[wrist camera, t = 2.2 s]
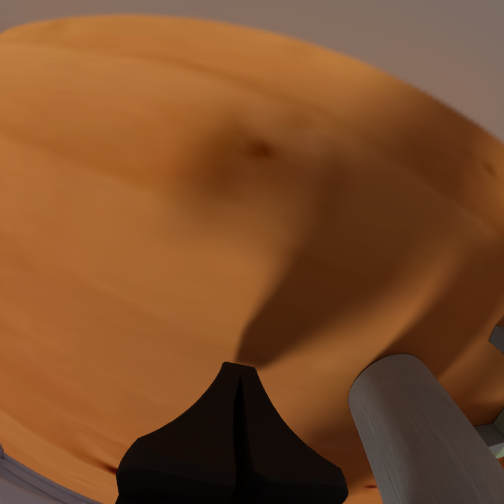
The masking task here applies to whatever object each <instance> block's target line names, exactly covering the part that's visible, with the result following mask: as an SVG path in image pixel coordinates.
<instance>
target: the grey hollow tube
mask: <svg viewBox="0 0 504 504" xmlns="http://www.w3.org/2000/svg"><path fill="white" fill-rule="evenodd" d="M348 403H349V407H350V411H351V414H352V417H353V420H354V422H355V425H356V428H357V430H358V433H359V436H360V438H361V441H362V444H363V447H364V450H365V452H366V455H367V458H368V461H369V463H370V466H371V469H372V472H373V475H374V478H375V481H376V483H377V486H378V489H379V492H380V495H381V498H382V501H383V504H504V469H503V467H502V466H501V464H500V463H499V462H498V460H497V459H496V457H495V456H494V454H493V453H492V452H491V450H490V449H489V447H488V446H487V445H486V443H485V442H484V440H483V439H482V438H481V436H480V435H479V434H478V432H477V431H476V429H475V428H474V427H473V425H472V424H471V423H470V421H469V420H468V419H467V417H466V416H465V415H464V413H463V412H462V411H461V409H460V408H459V407H458V406H457V404H456V403H455V402H454V400H453V399H452V398H451V397H450V395H449V394H448V393H447V391H446V390H445V389H444V388H443V386H442V385H441V384H440V383H439V381H438V380H437V379H436V378H435V376H434V375H433V374H432V373H431V371H430V370H429V369H428V368H427V367H426V365H425V364H424V363H423V362H422V361H421V360H420V359H419V358H417V357H415V356H413V355H410V354H395V355H391V356H388V357H385V358H383V359H380V360H378V361H376V362H375V363H373V364H372V365H370V366H369V367H368V368H366V369H365V370H364V371H363V372H362V373H361V374H360V375H359V377H358V378H357V379H356V380H355V382H354V383H353V385H352V387H351V389H350V392H349V397H348Z"/></svg>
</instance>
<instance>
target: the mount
mask: <svg viewBox="0 0 504 504" xmlns="http://www.w3.org/2000/svg"><path fill="white" fill-rule="evenodd" d="M489 342H490V343H492V344H493V345H494V346H495V347H496V348H498V349H499V350H500V351H501V352H502V353H504V327H501V326H495V328H494V330H493V333H492V335H491V337H490V339H489ZM474 428H475V429H476V431H477V432H478V434H479V435H480V436H481V438H482V439H483V440H484V442H485V443H486V445H487V446H488V447H489V449H490V450H491V452H492V453H493V454H494V456H495V457H496V459H497V458H500V457H503V456H504V408H503V410H502V411H501V413H500V414H499V416H498V417H497V419H496V420H495V422H494V423H492V424H486V425H480V426H474Z"/></svg>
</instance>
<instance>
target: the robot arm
mask: <svg viewBox="0 0 504 504" xmlns="http://www.w3.org/2000/svg"><path fill="white" fill-rule="evenodd" d="M116 480H117V486H118V492H119V495H118V498H117V500H116V503H115V504H342V503H343V502H344V501H345V500H346V498H347V497H348V488H347V484H346V481H345V478H344V475H343V473H342V470H341V468H339V467H337V466H336V465H334V464H332V463H331V462H329V461H328V460H326V459H324V458H323V457H321V456H320V455H319V454H317V453H316V452H315V451H313V450H312V449H311V448H310V447H308V446H307V445H306V444H305V443H304V442H303V441H302V440H301V439H300V438H299V437H298V436H297V435H296V434H295V433H294V432H293V431H292V430H291V429H290V428H289V427H288V426H287V424H286V423H285V422H284V421H283V419H282V418H281V416H280V415H279V414H278V412H277V411H276V409H275V407H274V406H273V404H272V403H271V401H270V399H269V397H268V395H267V393H266V392H265V390H264V388H263V385H262V383H261V381H260V379H259V376H258V374H257V371H256V369H255V368H254V367H250V366H245V365H240V364H235V363H230V362H224V363H222V367H221V369H220V372H219V373H218V375H217V377H216V378H215V380H214V381H213V383H212V384H211V385H210V387H209V388H208V389H207V391H206V392H205V393H204V394H203V395H202V396H201V397H200V398H199V400H198V401H197V402H196V403H194V404H193V405H192V406H191V407H190V408H189V409H188V410H187V411H185V412H184V413H183V414H181V415H180V416H179V417H178V418H176V419H175V420H173V421H172V422H170V423H168V424H166V425H165V426H163V427H161V428H160V429H158V430H156V431H154V432H151V433H149V434H147V435H144V436H142V437H140V438H138V439H137V440H136V441H135V442H134V443H133V444H132V445H131V447H130V448H129V449H128V451H127V452H126V453H125V455H124V457H123V458H122V460H121V462H120V465H119V467H118V469H117V473H116ZM0 504H102V503H100V502H97V501H95V500H92V499H90V498H88V497H85V496H83V495H81V494H78V493H76V492H74V491H72V490H70V489H68V488H65V487H63V486H61V485H59V484H57V483H55V482H53V481H51V480H50V479H48V478H46V477H44V476H42V475H40V474H38V473H37V472H35V471H33V470H31V469H30V468H28V467H26V466H25V465H23V464H21V463H20V462H18V461H16V460H15V459H13V458H12V457H10V456H9V455H7V454H6V453H4V450H3V447H2V445H1V444H0Z"/></svg>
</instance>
